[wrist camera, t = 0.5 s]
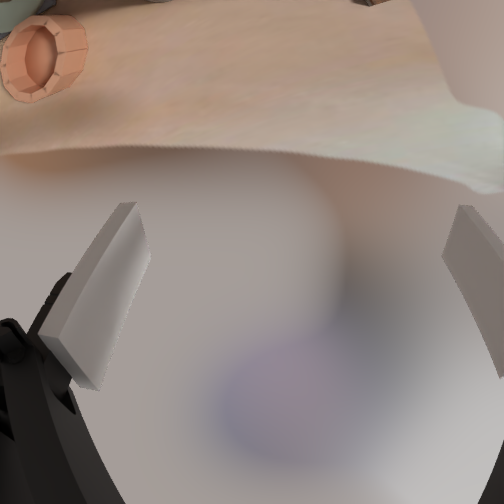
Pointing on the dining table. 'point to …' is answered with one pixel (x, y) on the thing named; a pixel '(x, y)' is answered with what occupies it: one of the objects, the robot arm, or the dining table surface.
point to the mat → (48, 3)
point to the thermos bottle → (159, 0)
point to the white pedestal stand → (375, 2)
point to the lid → (16, 12)
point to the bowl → (43, 56)
